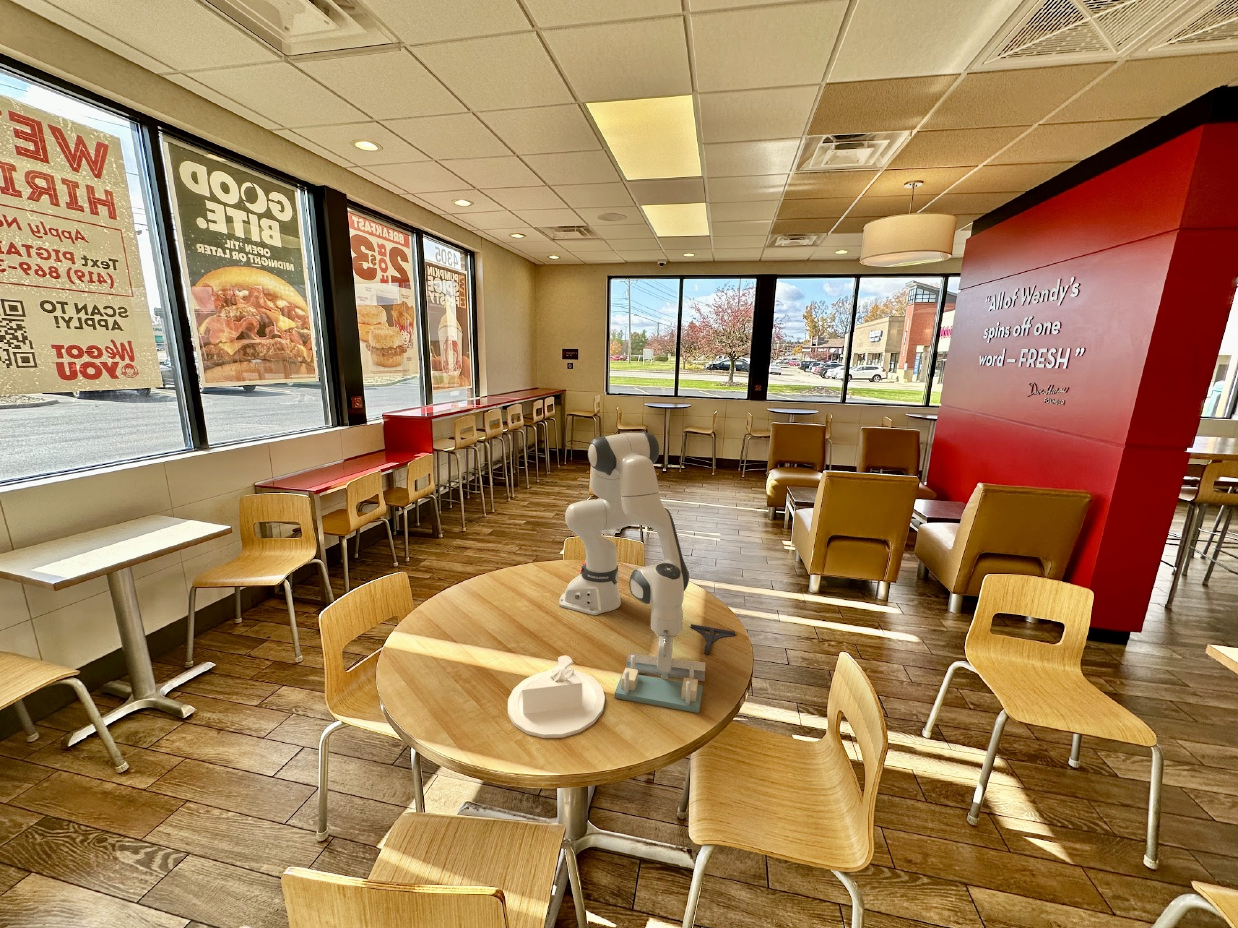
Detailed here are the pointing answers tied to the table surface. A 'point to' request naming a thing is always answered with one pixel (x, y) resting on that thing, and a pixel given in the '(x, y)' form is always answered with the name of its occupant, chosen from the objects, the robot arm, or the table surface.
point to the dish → (556, 702)
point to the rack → (660, 690)
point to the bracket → (711, 635)
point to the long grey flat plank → (677, 667)
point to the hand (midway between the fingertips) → (665, 666)
